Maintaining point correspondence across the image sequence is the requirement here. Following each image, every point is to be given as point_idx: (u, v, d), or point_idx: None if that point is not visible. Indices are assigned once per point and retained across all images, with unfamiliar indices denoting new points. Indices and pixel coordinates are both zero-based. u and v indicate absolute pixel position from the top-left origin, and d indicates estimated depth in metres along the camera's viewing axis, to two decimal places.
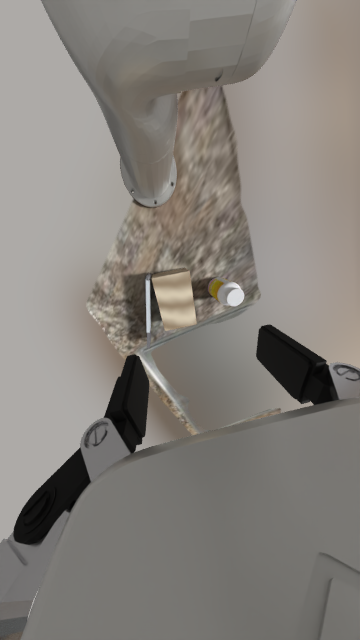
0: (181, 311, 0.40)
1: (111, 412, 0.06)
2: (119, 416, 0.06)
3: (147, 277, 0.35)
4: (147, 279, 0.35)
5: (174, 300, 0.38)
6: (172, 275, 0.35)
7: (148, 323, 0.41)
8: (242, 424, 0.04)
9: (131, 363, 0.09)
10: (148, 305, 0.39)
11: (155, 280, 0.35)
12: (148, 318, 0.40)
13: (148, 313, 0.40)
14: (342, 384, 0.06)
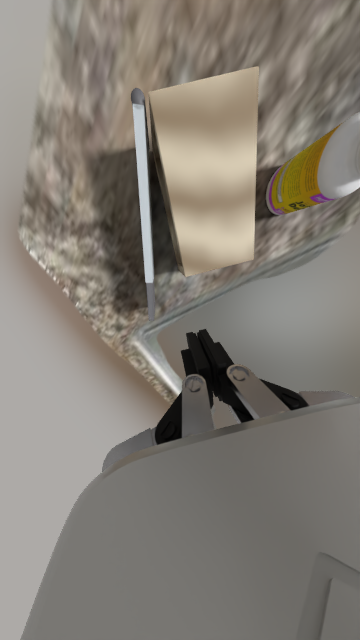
0: (224, 221, 0.17)
1: (199, 369, 0.07)
2: (204, 373, 0.08)
3: (137, 95, 0.12)
4: (137, 103, 0.12)
5: (209, 184, 0.15)
6: (209, 83, 0.12)
7: (148, 258, 0.18)
8: (242, 424, 0.04)
9: (194, 337, 0.10)
10: (145, 203, 0.16)
11: (160, 101, 0.12)
12: (148, 244, 0.17)
13: (146, 229, 0.17)
14: (244, 389, 0.06)
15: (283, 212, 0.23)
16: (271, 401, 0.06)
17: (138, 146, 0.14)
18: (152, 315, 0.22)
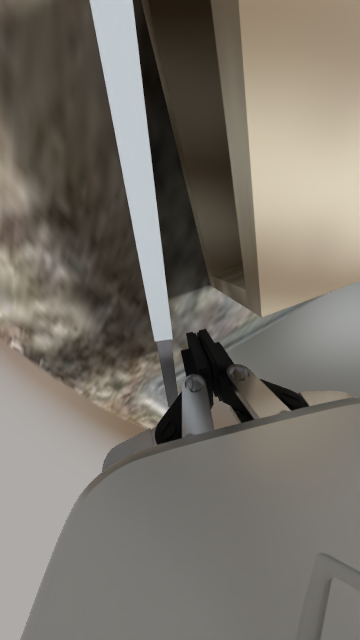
0: None
1: (199, 369, 0.07)
2: (204, 373, 0.08)
3: None
4: None
5: None
6: None
7: (156, 281, 0.06)
8: (242, 424, 0.04)
9: (194, 337, 0.10)
10: (126, 64, 0.04)
11: None
12: (153, 240, 0.05)
13: (143, 186, 0.05)
14: (244, 389, 0.06)
15: None
16: (271, 401, 0.06)
17: None
18: (175, 398, 0.10)
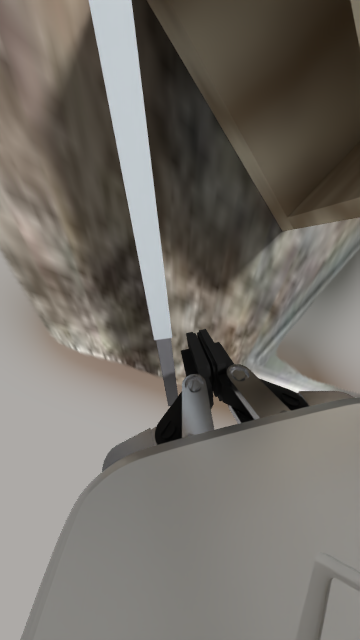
0: None
1: (199, 369, 0.07)
2: (204, 373, 0.08)
3: None
4: None
5: None
6: None
7: (156, 280, 0.06)
8: (242, 424, 0.04)
9: (194, 337, 0.10)
10: (125, 61, 0.04)
11: None
12: (153, 238, 0.05)
13: (142, 184, 0.05)
14: (244, 389, 0.06)
15: None
16: (271, 401, 0.06)
17: None
18: (175, 397, 0.10)
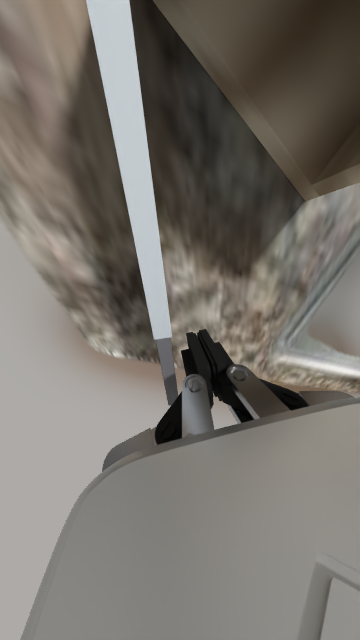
0: None
1: (199, 369, 0.07)
2: (204, 373, 0.08)
3: None
4: None
5: None
6: None
7: (155, 279, 0.06)
8: (242, 424, 0.04)
9: (194, 337, 0.10)
10: (122, 58, 0.04)
11: None
12: (152, 237, 0.05)
13: (141, 183, 0.05)
14: (244, 389, 0.06)
15: None
16: (271, 401, 0.06)
17: None
18: (175, 396, 0.10)
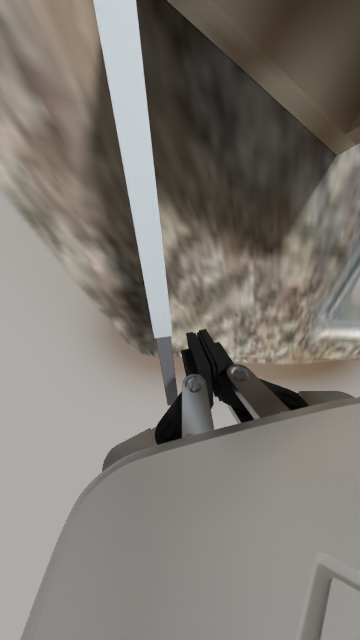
0: None
1: (199, 369, 0.07)
2: (204, 373, 0.08)
3: None
4: None
5: None
6: None
7: (156, 277, 0.06)
8: (242, 424, 0.04)
9: (194, 337, 0.10)
10: (127, 54, 0.04)
11: None
12: (154, 235, 0.05)
13: (144, 179, 0.05)
14: (244, 389, 0.06)
15: None
16: (271, 401, 0.06)
17: None
18: (175, 396, 0.10)
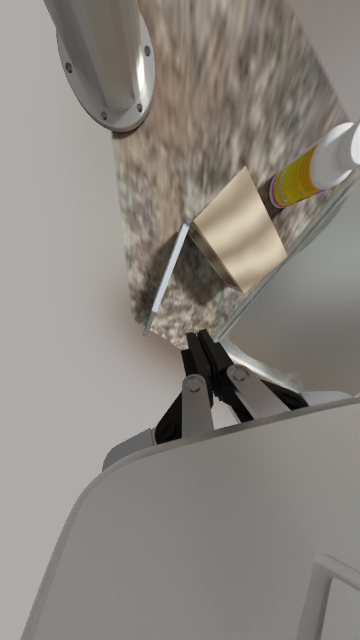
0: (257, 248, 0.24)
1: (199, 369, 0.07)
2: (204, 373, 0.08)
3: (187, 221, 0.22)
4: (186, 224, 0.22)
5: (240, 236, 0.23)
6: (221, 194, 0.21)
7: (160, 297, 0.26)
8: (242, 424, 0.04)
9: (194, 337, 0.10)
10: (171, 268, 0.25)
11: (200, 220, 0.22)
12: (163, 289, 0.26)
13: (166, 281, 0.25)
14: (244, 389, 0.06)
15: (292, 204, 0.28)
16: (271, 401, 0.06)
17: (179, 241, 0.23)
18: (147, 333, 0.29)
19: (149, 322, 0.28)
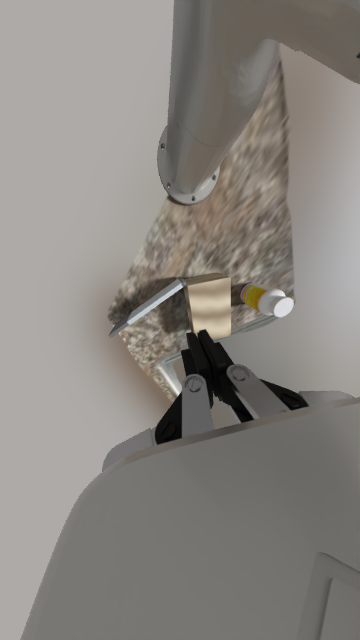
0: (216, 321, 0.36)
1: (199, 369, 0.07)
2: (204, 373, 0.08)
3: (184, 283, 0.31)
4: (182, 284, 0.31)
5: (210, 310, 0.34)
6: (211, 282, 0.31)
7: (138, 316, 0.33)
8: (242, 424, 0.04)
9: (194, 337, 0.10)
10: (157, 303, 0.32)
11: (191, 288, 0.31)
12: (144, 313, 0.33)
13: (149, 308, 0.32)
14: (244, 389, 0.06)
15: None
16: (271, 401, 0.06)
17: (172, 290, 0.31)
18: (113, 335, 0.34)
19: (119, 329, 0.34)
